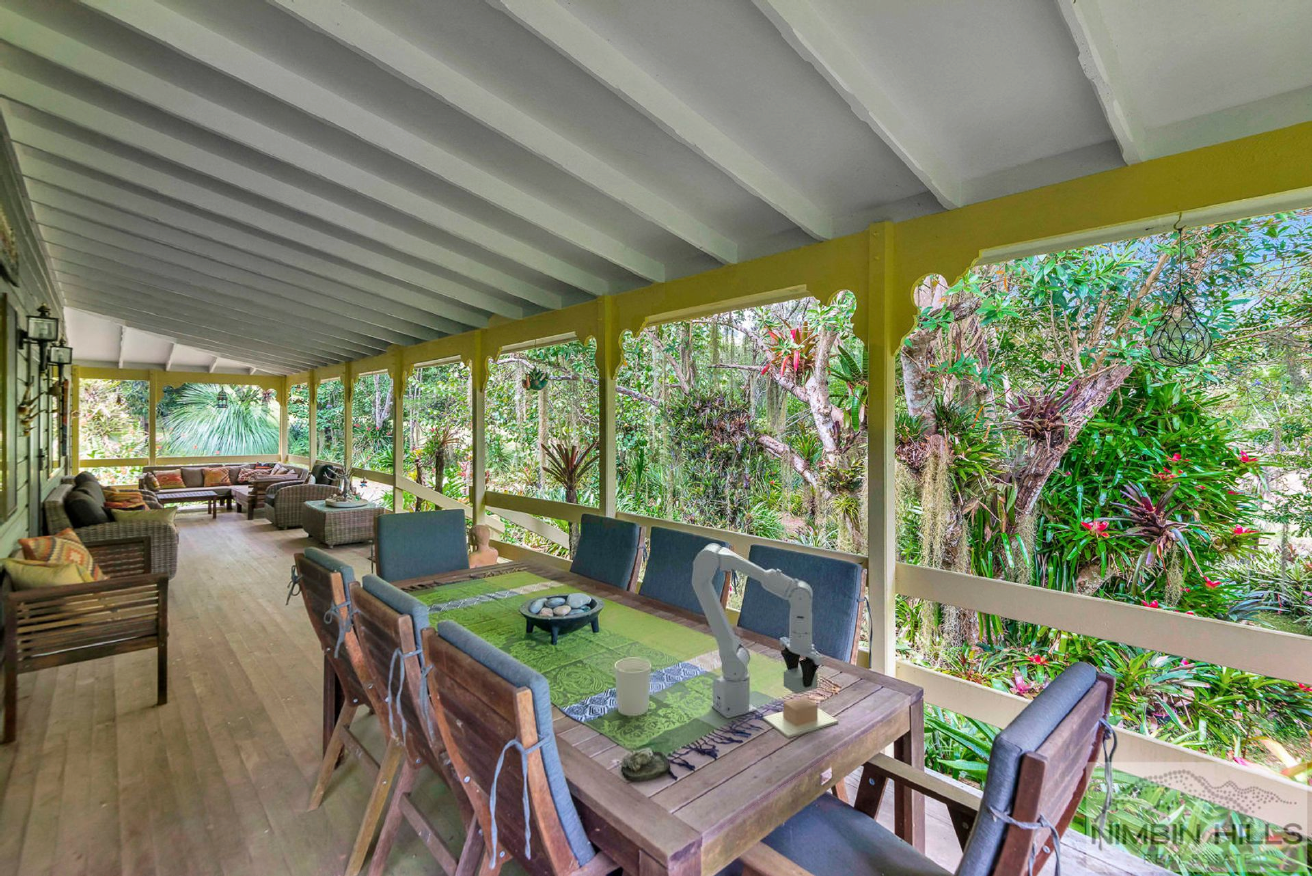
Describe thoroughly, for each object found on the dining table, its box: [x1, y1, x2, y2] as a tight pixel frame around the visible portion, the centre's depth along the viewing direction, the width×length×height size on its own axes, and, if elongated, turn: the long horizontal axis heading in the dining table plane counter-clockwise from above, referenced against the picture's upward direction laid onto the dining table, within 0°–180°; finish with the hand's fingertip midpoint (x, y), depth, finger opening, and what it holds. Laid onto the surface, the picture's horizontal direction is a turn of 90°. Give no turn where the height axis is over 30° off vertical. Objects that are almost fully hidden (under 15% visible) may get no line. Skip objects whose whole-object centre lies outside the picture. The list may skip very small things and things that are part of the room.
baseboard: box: [762, 707, 839, 739], centre depth 149 cm, size 16×10×1 cm, turn 116°
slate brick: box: [783, 666, 819, 695], centre depth 151 cm, size 7×5×4 cm
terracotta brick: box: [782, 696, 819, 726], centre depth 149 cm, size 7×5×4 cm
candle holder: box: [614, 656, 652, 717], centre depth 156 cm, size 10×10×12 cm
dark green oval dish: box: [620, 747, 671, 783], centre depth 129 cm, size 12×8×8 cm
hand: (800, 681), depth 151 cm, fingers closed on slate brick, 5 cm apart
